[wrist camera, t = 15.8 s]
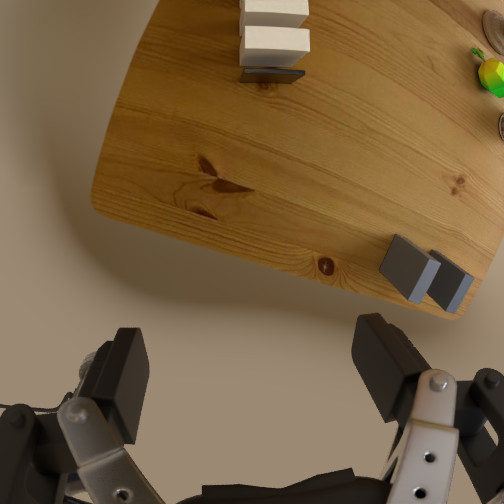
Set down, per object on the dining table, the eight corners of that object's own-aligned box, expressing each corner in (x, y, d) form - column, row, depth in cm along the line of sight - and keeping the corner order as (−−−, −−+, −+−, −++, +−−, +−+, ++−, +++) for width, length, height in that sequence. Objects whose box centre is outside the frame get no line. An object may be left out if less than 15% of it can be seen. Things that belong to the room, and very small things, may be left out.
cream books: (239, -31, 27) (244, -66, 19) (287, -29, 27) (303, -61, 19) (240, 82, 33) (245, 69, 25) (290, 83, 34) (310, 72, 25)
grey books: (378, 270, 44) (407, 300, 36) (395, 233, 42) (429, 258, 34) (424, 285, 46) (454, 314, 38) (441, 253, 44) (474, 277, 36)
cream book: (239, 48, 31) (244, 25, 23) (289, 49, 32) (309, 29, 24) (239, 66, 32) (244, 48, 24) (290, 67, 33) (310, 51, 25)
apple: (527, 93, 28) (497, 47, 25) (500, 112, 33) (468, 70, 30) (511, 73, 31) (481, 33, 29) (487, 91, 36) (456, 53, 34)
